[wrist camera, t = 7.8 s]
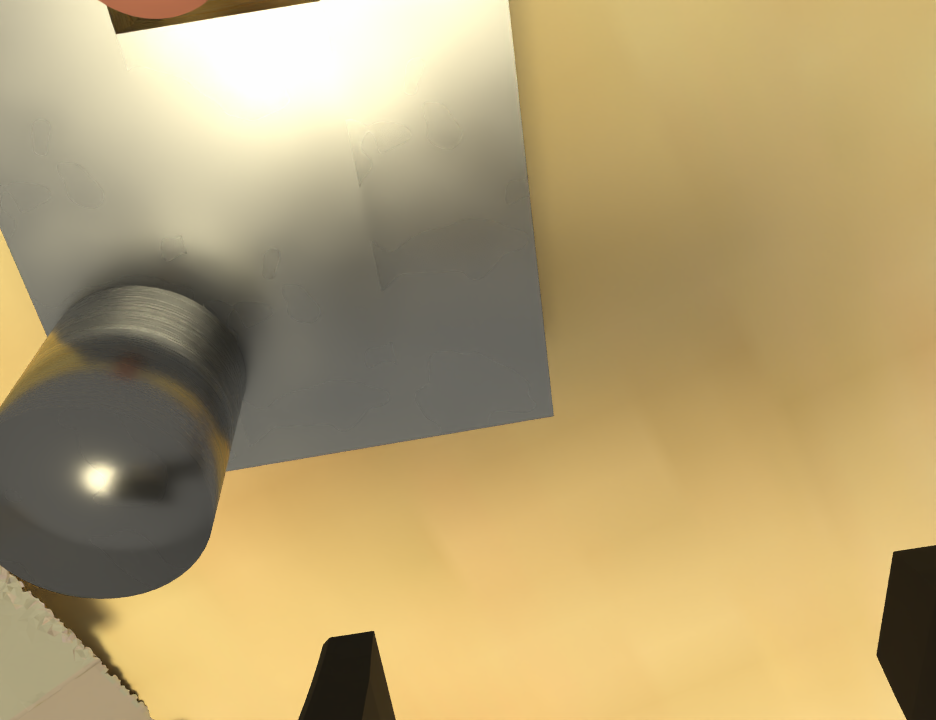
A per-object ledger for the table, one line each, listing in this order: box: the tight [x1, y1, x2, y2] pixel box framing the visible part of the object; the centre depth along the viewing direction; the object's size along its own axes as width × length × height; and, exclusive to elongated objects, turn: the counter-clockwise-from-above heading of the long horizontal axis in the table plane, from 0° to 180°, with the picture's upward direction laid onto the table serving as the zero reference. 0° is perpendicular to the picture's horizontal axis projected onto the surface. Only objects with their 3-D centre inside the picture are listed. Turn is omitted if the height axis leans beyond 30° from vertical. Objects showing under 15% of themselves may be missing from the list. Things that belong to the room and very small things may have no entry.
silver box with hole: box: [0, 0, 554, 599], centre depth 14 cm, size 9×14×7 cm, turn 8°
